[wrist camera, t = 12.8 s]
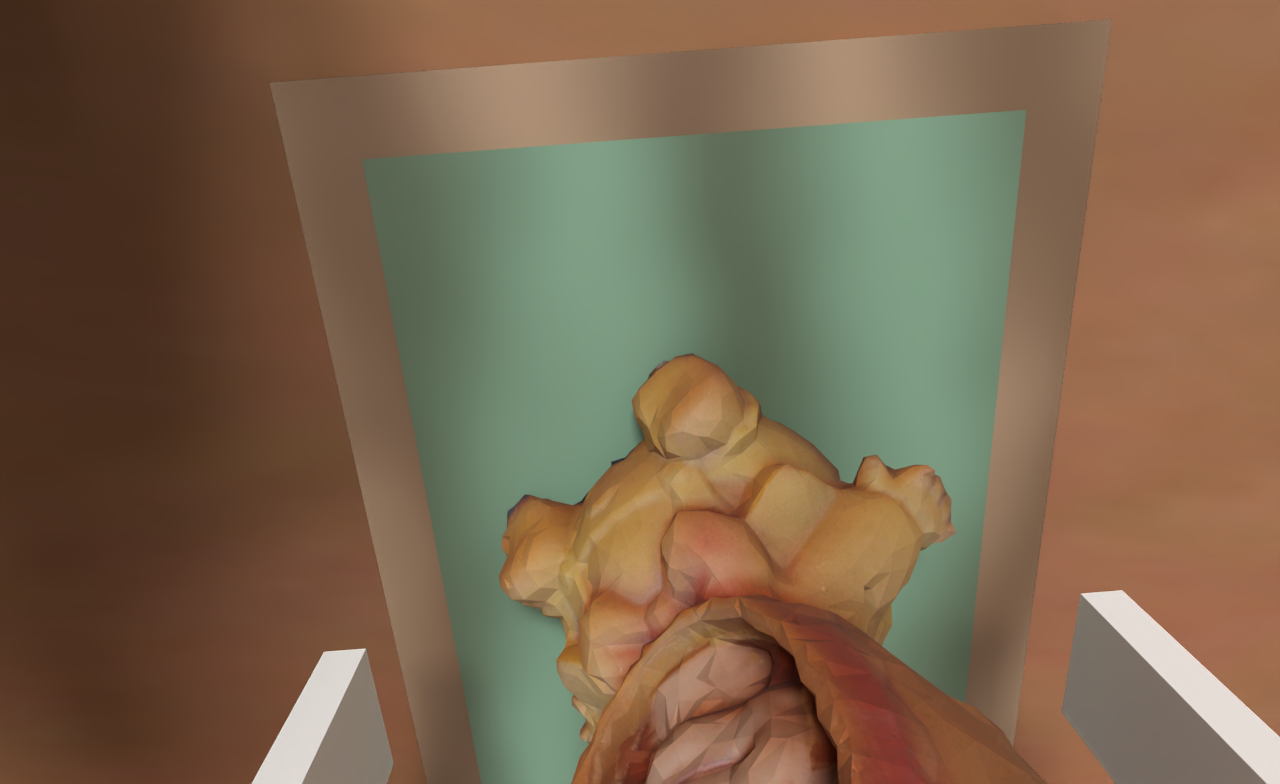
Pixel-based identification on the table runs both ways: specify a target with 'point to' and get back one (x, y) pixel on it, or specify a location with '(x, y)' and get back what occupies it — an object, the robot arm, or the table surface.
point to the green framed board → (694, 318)
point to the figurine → (744, 606)
